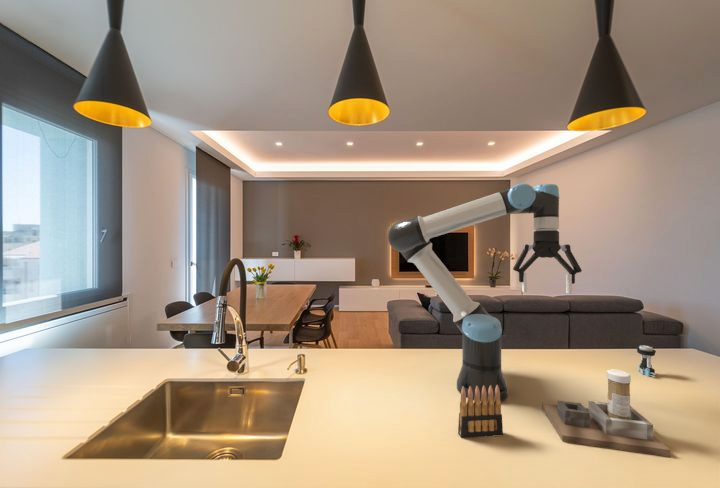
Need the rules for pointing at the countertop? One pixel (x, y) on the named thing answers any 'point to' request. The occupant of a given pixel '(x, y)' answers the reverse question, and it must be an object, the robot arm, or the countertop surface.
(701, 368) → the countertop surface
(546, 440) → the countertop surface
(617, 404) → the sprinkles bottle
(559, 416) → the socket board
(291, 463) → the countertop surface
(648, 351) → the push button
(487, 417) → the ammunition clip
